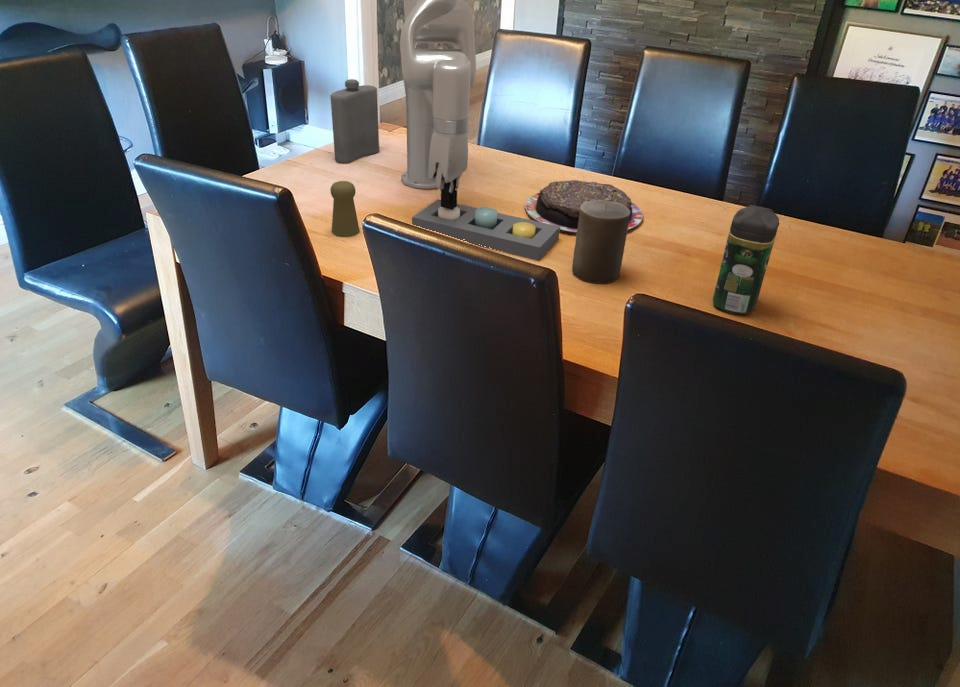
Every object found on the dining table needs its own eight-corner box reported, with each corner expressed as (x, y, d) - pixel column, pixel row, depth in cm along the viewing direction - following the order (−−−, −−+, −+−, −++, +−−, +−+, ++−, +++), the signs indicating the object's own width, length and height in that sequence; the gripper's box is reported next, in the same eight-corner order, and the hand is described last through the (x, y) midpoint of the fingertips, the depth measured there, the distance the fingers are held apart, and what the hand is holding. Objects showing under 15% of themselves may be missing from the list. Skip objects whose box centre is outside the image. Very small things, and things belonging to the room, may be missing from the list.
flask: (367, 147, 203) (364, 74, 192) (382, 151, 200) (380, 77, 189) (329, 160, 192) (323, 83, 181) (344, 165, 190) (339, 87, 179)
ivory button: (444, 217, 162) (444, 203, 160) (463, 222, 160) (463, 208, 158) (434, 225, 158) (434, 211, 156) (453, 229, 157) (453, 215, 155)
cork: (354, 238, 152) (351, 189, 146) (327, 235, 153) (323, 186, 147) (363, 227, 157) (361, 179, 151) (337, 224, 158) (334, 176, 152)
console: (437, 211, 166) (438, 199, 165) (558, 239, 156) (560, 226, 154) (412, 229, 157) (411, 217, 155) (538, 260, 147) (539, 247, 145)
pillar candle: (608, 289, 138) (620, 216, 130) (562, 274, 142) (572, 203, 134) (627, 270, 145) (640, 201, 137) (583, 257, 149) (593, 189, 141)
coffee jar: (717, 287, 140) (740, 198, 130) (759, 298, 137) (785, 207, 127) (706, 309, 133) (730, 216, 123) (750, 320, 130) (777, 226, 120)
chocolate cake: (598, 186, 185) (602, 162, 182) (667, 228, 164) (672, 201, 161) (503, 201, 174) (505, 175, 171) (563, 247, 154) (567, 219, 150)
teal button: (480, 220, 158) (481, 205, 156) (500, 224, 156) (500, 210, 155) (470, 227, 154) (471, 213, 153) (490, 232, 153) (491, 217, 151)
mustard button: (517, 234, 156) (518, 220, 154) (537, 239, 154) (538, 225, 152) (508, 243, 152) (509, 228, 150) (529, 248, 151) (530, 233, 149)
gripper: (451, 112, 154) (449, 192, 165) (416, 130, 143) (417, 215, 153) (482, 118, 152) (478, 199, 162) (450, 137, 140) (448, 223, 151)
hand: (448, 206), depth 158 cm, fingers closed
